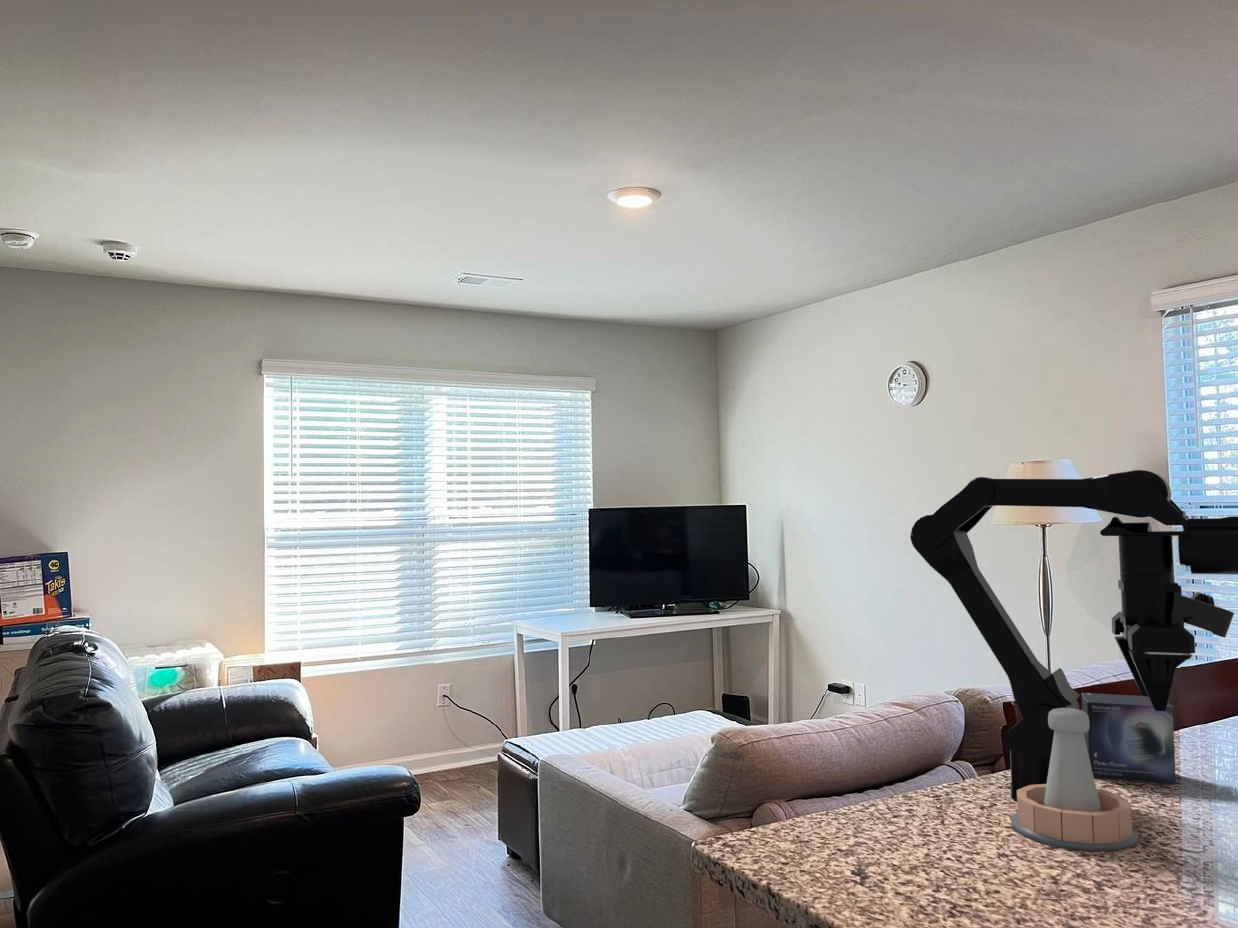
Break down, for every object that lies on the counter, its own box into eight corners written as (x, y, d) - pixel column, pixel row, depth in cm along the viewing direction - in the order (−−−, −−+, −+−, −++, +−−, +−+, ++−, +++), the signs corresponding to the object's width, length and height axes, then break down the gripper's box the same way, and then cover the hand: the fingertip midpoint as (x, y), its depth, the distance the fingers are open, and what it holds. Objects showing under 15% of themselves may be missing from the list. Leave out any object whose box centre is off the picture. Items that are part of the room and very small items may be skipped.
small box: (1089, 778, 125) (1085, 700, 125) (1082, 766, 131) (1079, 691, 131) (1178, 785, 121) (1174, 704, 122) (1167, 772, 127) (1163, 695, 128)
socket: (1013, 842, 101) (1011, 809, 101) (1010, 807, 113) (1008, 777, 113) (1148, 857, 96) (1146, 822, 96) (1129, 818, 108) (1128, 787, 108)
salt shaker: (1037, 816, 107) (1032, 704, 108) (1087, 816, 107) (1082, 703, 108) (1058, 833, 101) (1053, 714, 102) (1111, 833, 101) (1105, 714, 102)
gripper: (1245, 578, 100) (1253, 724, 99) (1206, 569, 117) (1213, 692, 116) (1129, 578, 104) (1136, 717, 103) (1108, 568, 121) (1114, 688, 120)
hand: (1153, 703), depth 110 cm, fingers open, 9 cm apart
